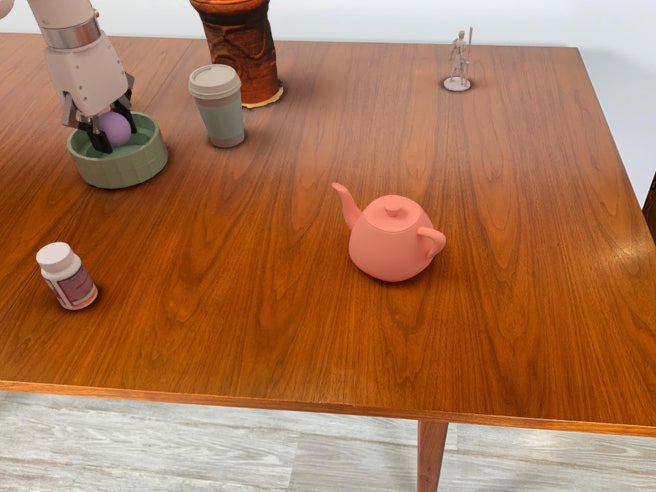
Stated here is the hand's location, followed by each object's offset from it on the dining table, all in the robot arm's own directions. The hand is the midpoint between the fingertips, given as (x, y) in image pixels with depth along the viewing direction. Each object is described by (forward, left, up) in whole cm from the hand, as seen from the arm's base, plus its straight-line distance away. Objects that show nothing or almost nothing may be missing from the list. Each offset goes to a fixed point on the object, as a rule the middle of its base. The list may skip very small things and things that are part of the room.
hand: (116, 140), depth 95 cm
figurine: (+62, +16, -5) cm, 64 cm away
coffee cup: (+17, +5, -5) cm, 18 cm away
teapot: (+40, -29, -5) cm, 50 cm away
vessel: (+21, +21, -5) cm, 30 cm away
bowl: (0, 0, -5) cm, 5 cm away
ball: (0, 0, +2) cm, 2 cm away
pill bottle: (-2, -30, -5) cm, 31 cm away
